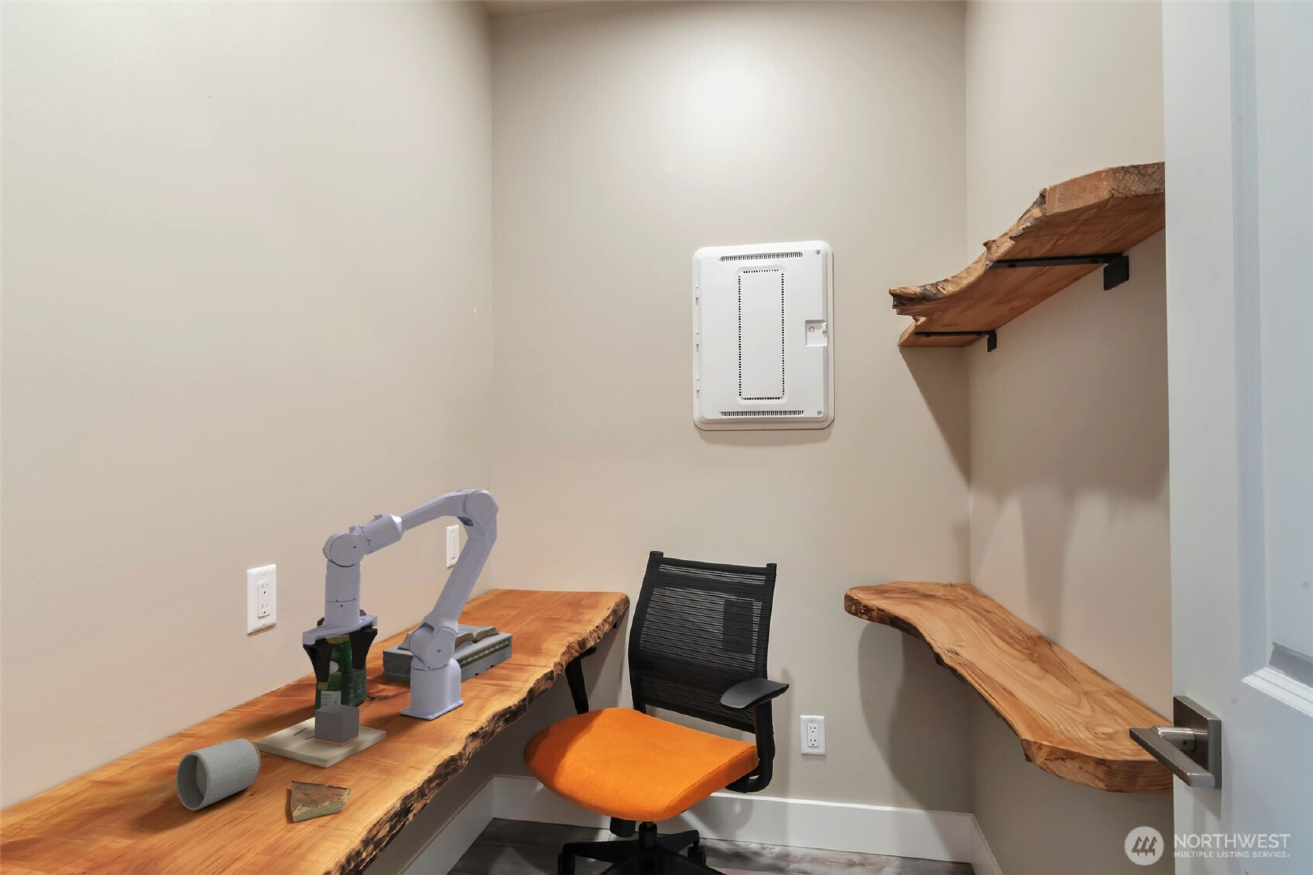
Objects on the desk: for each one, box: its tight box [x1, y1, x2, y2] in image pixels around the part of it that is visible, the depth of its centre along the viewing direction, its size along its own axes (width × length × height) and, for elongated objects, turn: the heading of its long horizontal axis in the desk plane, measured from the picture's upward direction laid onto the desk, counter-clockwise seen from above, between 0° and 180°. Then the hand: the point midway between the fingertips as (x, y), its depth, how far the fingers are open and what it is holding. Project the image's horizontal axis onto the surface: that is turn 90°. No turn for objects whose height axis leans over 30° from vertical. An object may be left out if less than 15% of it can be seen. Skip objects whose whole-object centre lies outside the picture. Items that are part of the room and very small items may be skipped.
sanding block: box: [314, 703, 361, 746], centre depth 109 cm, size 4×6×5 cm, turn 71°
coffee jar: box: [314, 608, 368, 710], centre depth 128 cm, size 10×8×19 cm
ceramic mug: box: [175, 738, 262, 811], centre depth 93 cm, size 11×8×8 cm
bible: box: [382, 623, 514, 684], centre depth 152 cm, size 23×27×10 cm
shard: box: [290, 780, 352, 823], centre depth 92 cm, size 11×8×2 cm
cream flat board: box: [253, 716, 387, 768], centre depth 110 cm, size 12×17×1 cm
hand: (340, 675), depth 116 cm, fingers open, 7 cm apart
